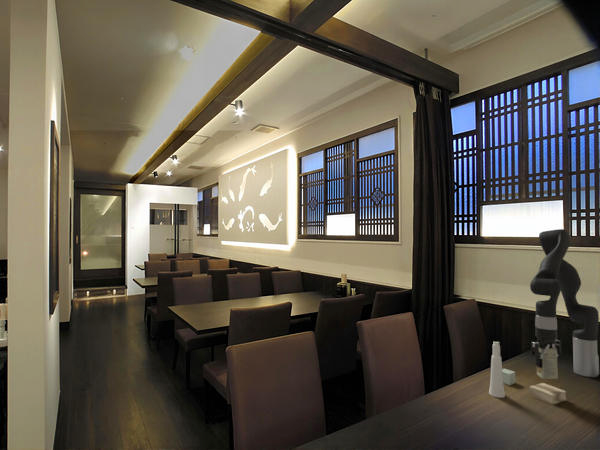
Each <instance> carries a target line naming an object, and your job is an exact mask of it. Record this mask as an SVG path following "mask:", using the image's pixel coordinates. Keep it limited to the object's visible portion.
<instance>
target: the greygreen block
mask: <svg viewBox="0 0 600 450" xmlns="http://www.w3.org/2000/svg"><path fill="white" fill-rule="evenodd" d="M502 375H503V384H505V385H507V386H511V385H514V384H516V381H517V380H516V371H513V370H511V369H507V368H502Z"/></svg>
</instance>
